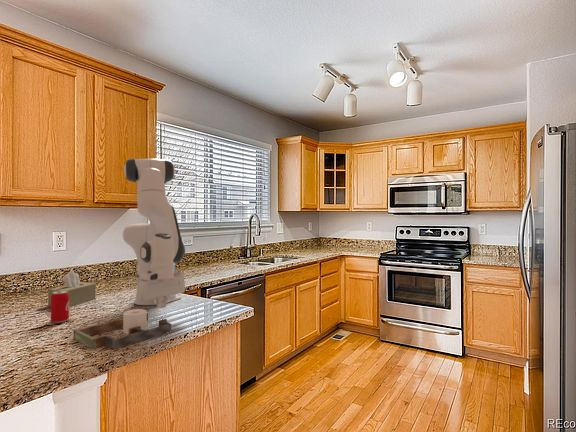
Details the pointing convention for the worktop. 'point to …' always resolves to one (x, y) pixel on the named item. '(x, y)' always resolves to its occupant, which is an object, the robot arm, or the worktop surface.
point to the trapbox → (134, 336)
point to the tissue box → (75, 290)
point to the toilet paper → (134, 319)
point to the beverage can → (59, 306)
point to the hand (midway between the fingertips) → (161, 307)
